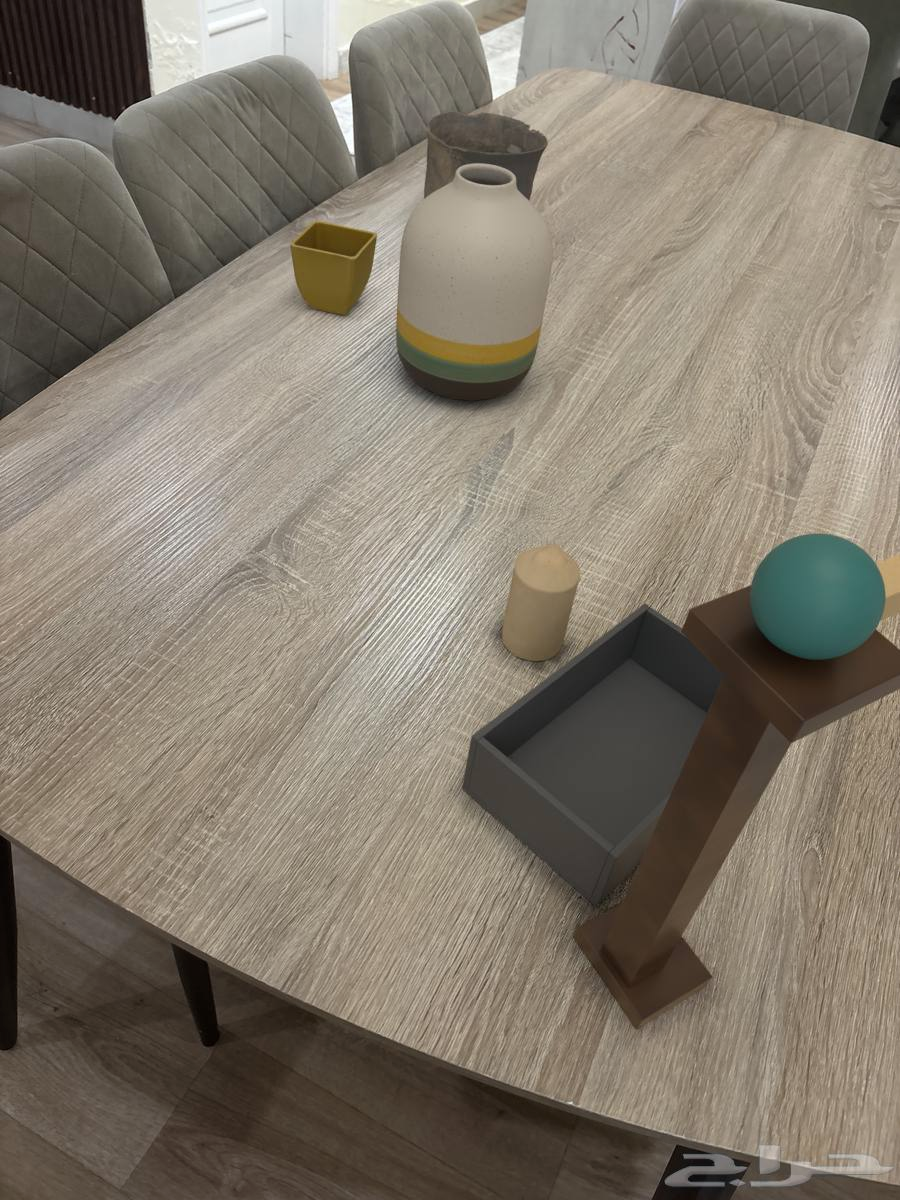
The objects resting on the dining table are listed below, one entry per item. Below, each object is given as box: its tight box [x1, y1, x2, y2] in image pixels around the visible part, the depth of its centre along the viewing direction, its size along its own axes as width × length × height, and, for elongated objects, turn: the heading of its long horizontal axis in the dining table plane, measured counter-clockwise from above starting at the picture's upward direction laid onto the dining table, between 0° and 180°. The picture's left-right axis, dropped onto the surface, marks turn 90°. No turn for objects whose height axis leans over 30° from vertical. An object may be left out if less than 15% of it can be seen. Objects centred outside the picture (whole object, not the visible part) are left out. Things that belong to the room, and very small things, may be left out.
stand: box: [573, 584, 900, 1030], centre depth 52 cm, size 7×7×32 cm
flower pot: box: [289, 220, 378, 316], centre depth 122 cm, size 9×9×9 cm
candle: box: [501, 544, 581, 662], centre depth 80 cm, size 6×6×10 cm
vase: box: [395, 163, 554, 401], centre depth 107 cm, size 17×17×24 cm
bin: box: [461, 603, 724, 908], centre depth 72 cm, size 13×21×7 cm, turn 135°
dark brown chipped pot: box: [423, 111, 549, 202], centre depth 140 cm, size 18×18×15 cm
